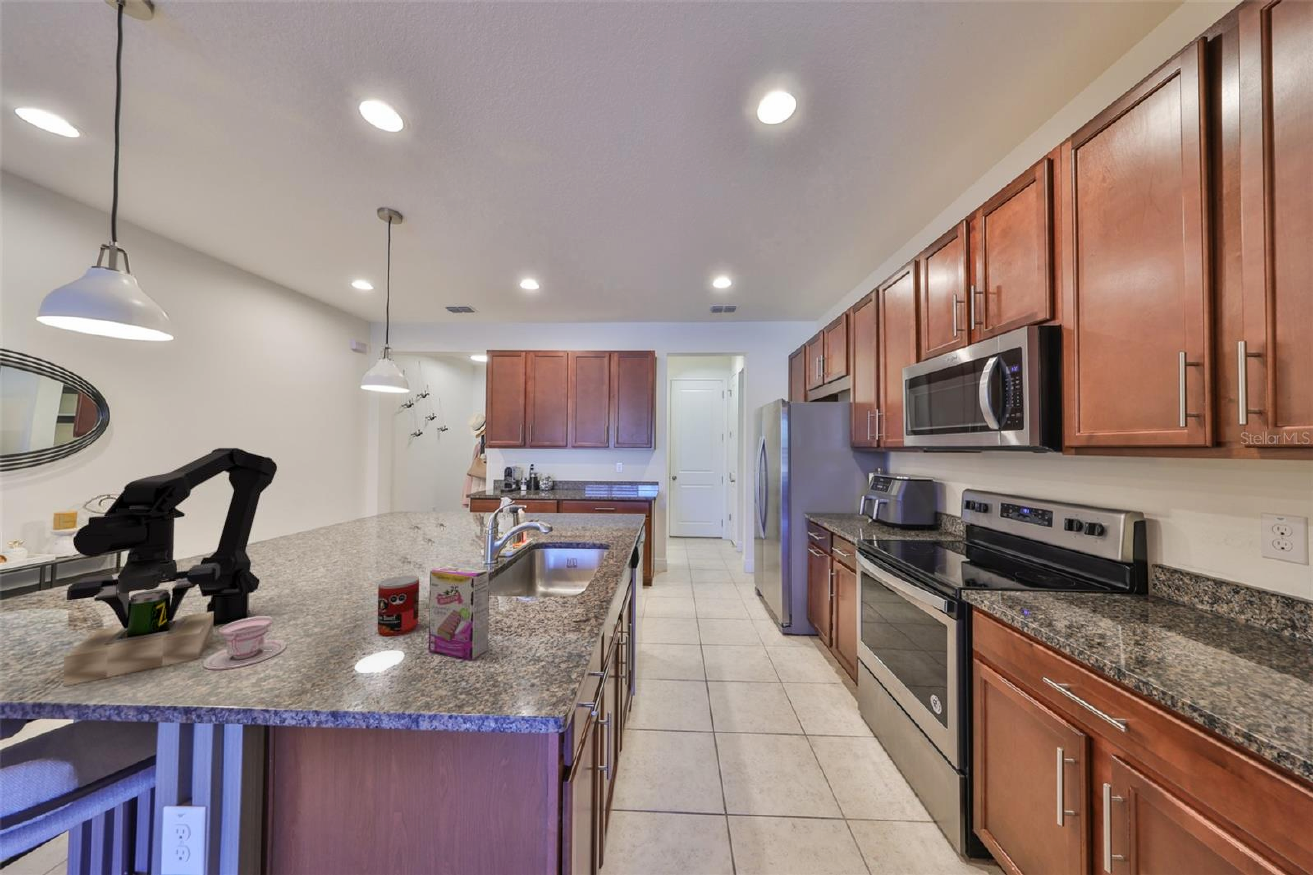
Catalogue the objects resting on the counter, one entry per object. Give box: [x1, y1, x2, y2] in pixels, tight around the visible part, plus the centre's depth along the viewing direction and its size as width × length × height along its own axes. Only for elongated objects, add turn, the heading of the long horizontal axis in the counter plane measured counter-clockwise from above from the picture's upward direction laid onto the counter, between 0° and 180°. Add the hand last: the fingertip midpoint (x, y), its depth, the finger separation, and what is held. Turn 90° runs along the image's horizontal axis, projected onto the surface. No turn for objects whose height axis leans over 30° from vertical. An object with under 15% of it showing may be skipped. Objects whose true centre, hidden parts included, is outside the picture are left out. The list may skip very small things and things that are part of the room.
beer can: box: [127, 588, 172, 638], centre depth 84 cm, size 5×5×12 cm
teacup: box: [202, 615, 288, 671], centre depth 85 cm, size 12×12×6 cm
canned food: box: [377, 575, 420, 637], centre depth 97 cm, size 8×8×11 cm
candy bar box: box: [428, 564, 490, 661], centre depth 87 cm, size 11×5×16 cm, turn 71°
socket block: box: [62, 611, 214, 687], centre depth 84 cm, size 16×14×5 cm
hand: (149, 624), depth 84 cm, fingers closed on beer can, 5 cm apart
